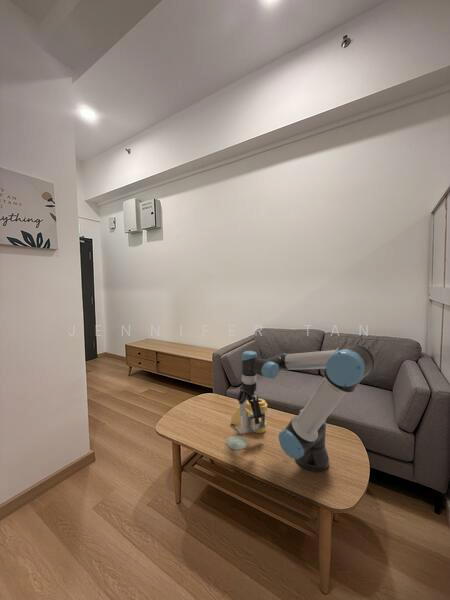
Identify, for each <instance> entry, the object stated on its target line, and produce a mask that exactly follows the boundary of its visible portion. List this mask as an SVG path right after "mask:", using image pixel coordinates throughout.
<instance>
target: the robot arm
mask: <svg viewBox="0 0 450 600" xmlns="http://www.w3.org/2000/svg"><path fill="white" fill-rule="evenodd" d="M375 366H376V358H375V355H374V354H373V352H372V350H370V349H369V348H368V347H367V346H364V345H362V344H351V345H346V346H339V347H337V348H336V349H332V350H331V349H330V350H319V351H310V352H300V353H299V352H297V353H296V352H295V353H285V352H284V353H279V354H277V355H275V356H272V357H269V358H267V359H264V358H259V357H258V353H257V352H256V351H254V350H246V351H243V352H242V354H241V386H240V389H239V392H238V396H237V401H238V403H239V408H240V416H244V415H245V403H244V402H245V400H246V399H247V400H248V402H249V404H250V405H251V408H252V411H253V414H254V417H253V430H256V429H258V424H259V419H261V417H262V415H261V410H260V406H259V401H258V398H259V396H258V395H255V392H256V391H257V375H259V376H261V377H264V378H267V379H270V380H274V379H276V378H277V376H278V375H279V373H280V372H281V371H290V370H318V369H319V370H320V369H322V370H323V369H324V370H323V371H322V374H323V377H324V378H323V379H322V381H321V382H320V384H319V385H318V386H317V388H316V389H315V391H314V392H313V394H312V395H311V396H310V399H309V400H308V401H307V403H306V404H305V406H304V407H303V408H301V409H300V410H299V413H298V415H294V416H293V417H292V418H291V420H290V422H289V423H288V424H287V425H286V427H284V429H282V430H280V432H279V434H278V442H279V446H280V448H281V450H282V451H283V452H284V453H285V455H287V456H288V457H289V458H290V459H294V460H295V461H296V463H297V464H298V465H299V466H300V467H301V468H304V469H305V470H307V471H311V472H323V471H325V470H327V469H328V468H329V466H330V458H329V455H328V451H327V448H326V432H327V431H326V430H327V419H328V417H329V416H330V415H331V414H332V411H334V409H335V408H336V406H338V404H339V403H340V401H341V400H342V398H343V397H344V396H345V395H346V394H350V393H353V392H354V391H355V389H356V388H357V386H359V384H360V382H361V381H363V379H364V378H365V377H366V376H368V375H369V374H370V373H371V372H372V371H373V370H374V369H375ZM252 400H253V401H252Z"/></svg>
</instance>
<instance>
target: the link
mask: <svg viewBox="0 0 450 600" xmlns="http://www.w3.org/2000/svg"><path fill="white" fill-rule="evenodd" d="M265 413H266V412H265ZM265 413H264V412H261V415H262V417H261V418H260V419H261V424H260V425H258V429H256V430H259V429H262V428H265V422H266V421H265V420H266V416H265V415H266V414H265ZM253 417H254V414H253V415H249V416H247V433H252V432H253V431H255V430H253V427H251V419H253Z"/></svg>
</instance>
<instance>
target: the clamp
mask: <svg viewBox="0 0 450 600" xmlns="http://www.w3.org/2000/svg"><path fill="white" fill-rule="evenodd" d="M252 401H253V400H252ZM258 401H259V406H260V410H261V412H264V413H266V412H268V403H267V402H266V400H265V399H263V398H259V397H258ZM247 409H248V410H249V411H250V412H251V413H252V414H253V411H252V408H251V405H250V404H249V402H248V400H247ZM247 416H249V414H248V413H246V428H247ZM230 418H231V421H230V424H233V426H237V425H240V426H241V416H240V407H238V409H237V410H236V411H235V413H234V414H233V415H232V417H230ZM259 420H260V423H259V424H258V425H260V424H261V418H259ZM251 427H253V419H251ZM266 431H267V422H266V421H265V428H262V429H259V430H255V431H252V432H253V433H257V434H262V433H265V432H266Z"/></svg>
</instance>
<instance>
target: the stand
mask: <svg viewBox="0 0 450 600" xmlns="http://www.w3.org/2000/svg"><path fill="white" fill-rule="evenodd" d="M244 403H245V415H244V416H241V426H240V425H234V427H235V429H236V431H238V432H239V434H241V435H244V434H246V433H248V432H247V428H246V413H248V414H249V415H253V414H252V413H251V412H250V411H249V410H248V409H247V399H246V400H245V402H244ZM259 423H260V420H259Z"/></svg>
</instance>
